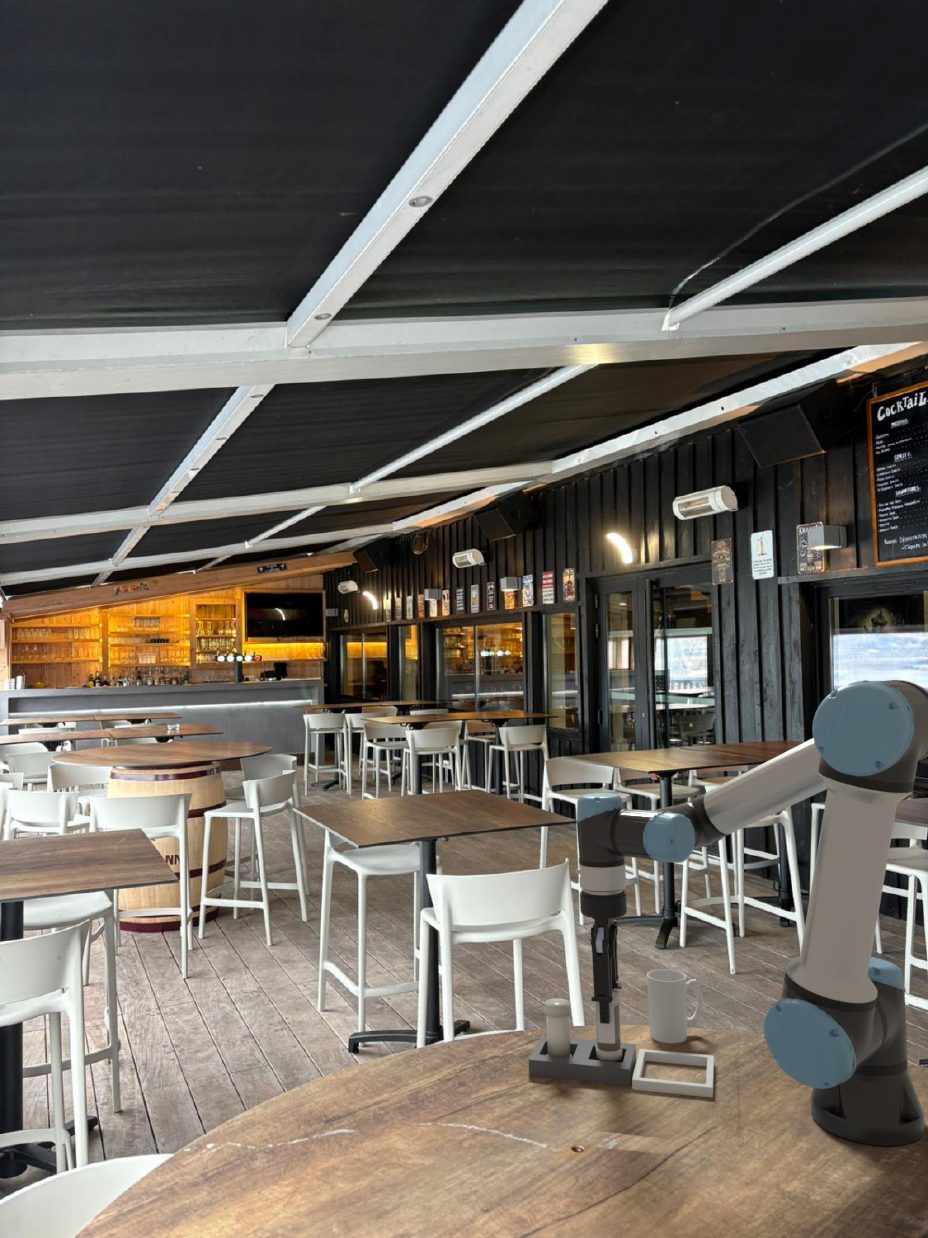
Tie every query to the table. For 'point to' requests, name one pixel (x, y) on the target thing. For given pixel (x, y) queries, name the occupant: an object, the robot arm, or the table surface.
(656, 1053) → the tray
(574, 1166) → the table surface
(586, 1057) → the block
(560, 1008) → the peg
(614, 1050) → the fuse
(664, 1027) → the mug
